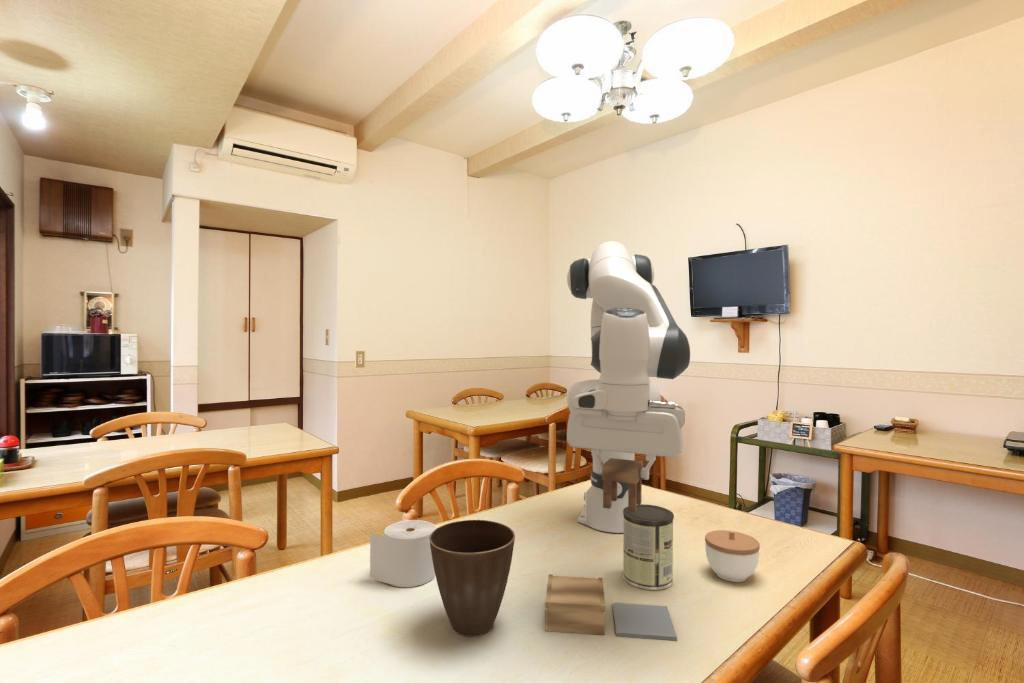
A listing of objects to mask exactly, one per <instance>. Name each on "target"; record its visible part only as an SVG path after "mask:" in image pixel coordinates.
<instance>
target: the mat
mask: <svg viewBox="0 0 1024 683" xmlns="http://www.w3.org/2000/svg"><path fill="white" fill-rule="evenodd" d="M611 604H612V605H611V606H612V611H613V613H612V614H613V620H614V627H615V636H616V637H625V638H626V637H627V638H639V639H648V640H649V639H650V640H651V639H653V640H663V641H664V640H666V641H678V636H677V633H676V629H675V626H674V624H673V621H672V617H671V614H670V611H669V608H668V606H667V605H657V604H655V605H654V604H643V603H641V604H640V603H628V602H627V603H626V602H625V603H624V602H612V603H611Z"/></svg>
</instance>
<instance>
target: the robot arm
mask: <svg viewBox="0 0 1024 683" xmlns="http://www.w3.org/2000/svg"><path fill="white" fill-rule="evenodd" d="M654 280H655V270H654V266H653V264H652V261H651V259H650V258H649V256H647V255H643V254H636V253H635V254H634V255H632V254H631V252H630V250H629V249H628V248H627V246H626V245H625V244H623V243H621V242H619V241H616V240H614V241H613V240H610V241H609V240H608V241H605V242H602V243H599V245H598V246H597V247H595V249H594V250H593V252H592V255H591V257H590V258H589V257H588V258H585V257H584V258H579V259H576V260H574V261H573V262H572V263H571V264H570V265H569V269H568V272H567V275H566V281H567V282H566V283H567V286H568V288H569V290H570V293H571V296H573V297H574V298H576V299H581V300H587V299H592V303H591V309H590V337H591V338H590V342H591V345H590V346H591V363H590V366H592V367H593V368H594V370H595V371H597V372H598V373H599V374H600V375H599V379H598V378H597V379H586V380H583V381H578V382H575V383H573V384H572V386H571V387H570V389H569V390H568V393H567V397H566V398H567V399H566V403H567V407H568V410H569V412H570V413H569V415H568V421H567V428H566V429H567V430H566V441H567V443H568V445H569V446H570V447H571V448H581V449H588V450H591V457H592V469H591V471H590V484H591V486H590V487H589V488H588V489H587V491H585V492H584V494H583V500H584V502H585V503H584V504H583V508H582V510H581V511H580V514H579V515H578V517H577V523H580V524H581V525H582V524H583V525H586V526H588V527H590V528H591V529H594V530H597V531H601V532H605V533H614V534H615V533H616V534H617V533H619V534H621V533H622V534H623V530H624V515H623V509H624V508H626V507H628V483H624V482H617V500H616V501H612V505H611V508H610V509H608V508H603V480H602V465H603V464H604V463H605V462H607V461H608V460H609V459H610V458H615V459H625V460H634V461H636V459H635V457H636V454H638V455H645V461H646V462H648V463H647V464H646V466H645V467H644V466H643V467H641V468H640V469H639V474H640V475H639V479H642V481H643V480H644V481H649V479H650V469H651V467H652V466H653V464H654V462H655V461H656V459H657V457H668V458H678V457H679V456H680V455H681V454H682V453H683V450H684V438H683V430H682V428H683V426H685V424H686V422H685V421H686V411H685V410H684V408H683V407H682V406H680V405H679V404H677V402H674V401H667V402H666V401H662V395H661V392H660V389H659V388H658V386H657V385H656V384H655V382H653V381H652V380H650V378H657V379H666V380H674V379H676V378H677V377H678V376H680V375H681V374H682V373H683V372H685V371H686V370H687V369H688V367H689V365H690V361H691V346H690V343H689V342H690V341H689V340H688V337H687V335H686V334H685V332H684V331H683V330H682V329H681V328H680V327H679V325H678V324H677V321H676V320H675V318H674V317H673V315H672V313H671V311H670V309H669V307H668V306H667V303H666V302H665V299H664V297H663V296H662V294H661V292H660V291H659V290H658V288H657V287H656V285H654V284H653V283H654ZM642 495H643V494H641V504H643V498H642ZM637 505H638V504H637Z"/></svg>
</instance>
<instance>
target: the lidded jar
mask: <svg viewBox="0 0 1024 683" xmlns="http://www.w3.org/2000/svg"><path fill="white" fill-rule="evenodd" d="M704 541H705V543H704V544H705V555H706V558H707V559H706V560H707V562H708V564H709V566H710V568H711V570H712V571H714V573H715V574H716V577H718V578H720V579H722V580H724V581H727V582H731V583H742V582H743V583H744V582H745V581H747V580H748V578H749V577H751V576H752V575H753V574H754V573H755V571H756V569H757V567H758V563H759V556H760V543H759V541H758V540H757V539H756V537H755V538H754V537H753V536H752V535H748V534H745V533H743V532H739V531H735V530H725V529H724V530H722V529H720V530H719V529H718V530H712V531H709V532H707V533H706V534H705V536H704Z"/></svg>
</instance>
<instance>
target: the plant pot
mask: <svg viewBox="0 0 1024 683" xmlns="http://www.w3.org/2000/svg"><path fill="white" fill-rule="evenodd" d="M515 538H516V534H515V531H514V530H513V529H512V528H511V527H509V526H508V525H506V524H503V523H501V522H496V521H491V520H485V519H483V520H482V519H467V520H466V519H463V520H457V521H453V522H449V523H445V524H443V525H441V526H439V527H437V528H436V529H435V530H434V531H433V532H432V533H431V534H430V537H429V540H430V548H431V554H432V561H433V566H434V571H435V576H434V577H435V579H436V583H437V587H438V591H439V594H440V599H441V601H442V604H443V607H444V610H445V613H446V615H447V618H448V621H449V624H450V626H451V628H452V630H453V631H454V632H455V633H456V634H458V635H460V636H465V637H477V636H483V635H485V634H486V633H488V632H489V631H491V630H492V629H493V627H494V624H495V622H496V621H497V620H496V619H497V617H498V614H499V611H500V608H501V606H502V602H503V599H504V595H505V592H506V588H507V583H508V580H509V575H510V571H511V565H512V559H513V554H514V546H515V540H516V539H515Z"/></svg>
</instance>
